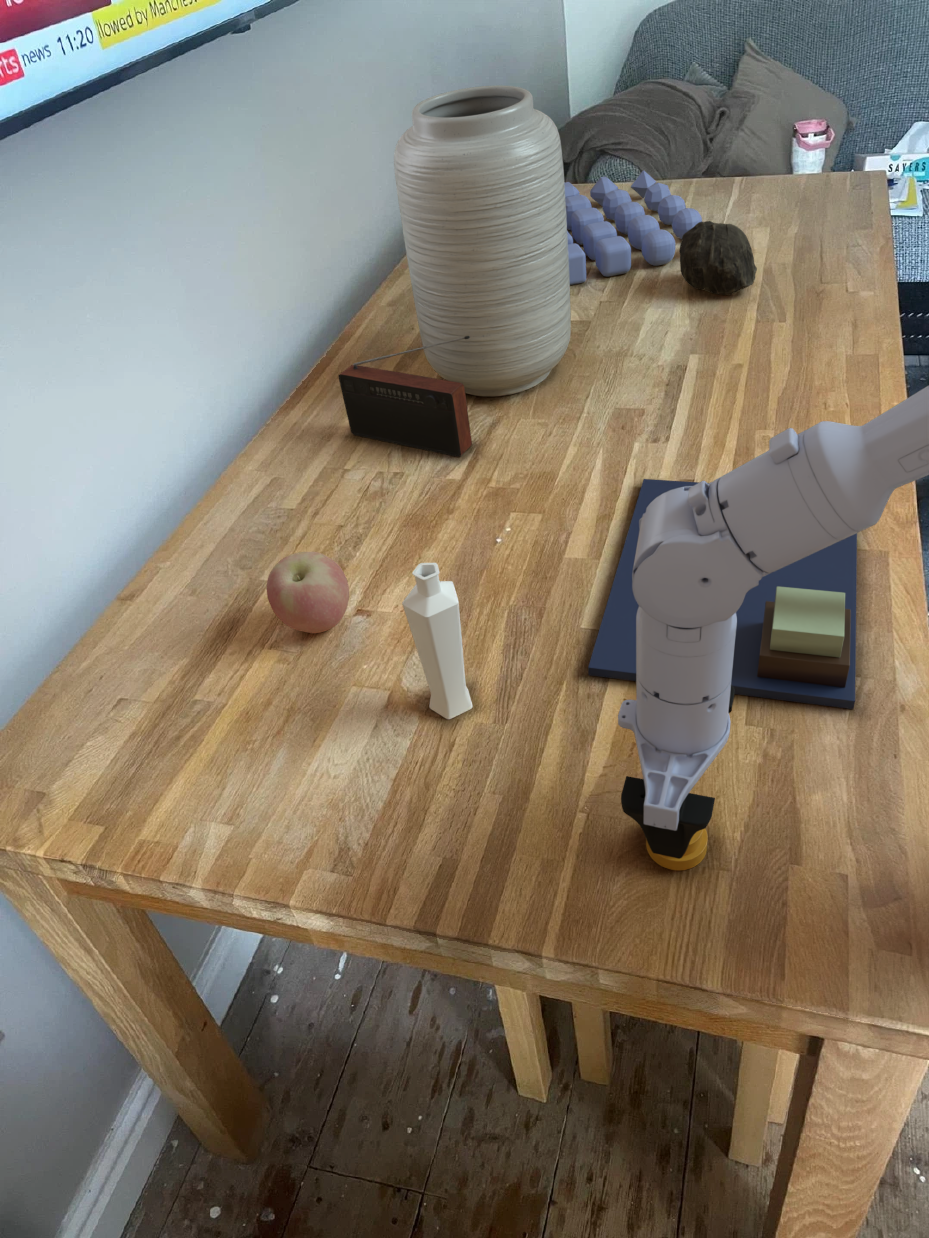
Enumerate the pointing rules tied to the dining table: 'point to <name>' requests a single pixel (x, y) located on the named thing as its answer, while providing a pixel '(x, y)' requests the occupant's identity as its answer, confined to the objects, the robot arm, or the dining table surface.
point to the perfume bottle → (438, 639)
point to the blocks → (623, 226)
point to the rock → (717, 258)
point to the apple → (308, 592)
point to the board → (813, 572)
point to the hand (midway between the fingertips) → (677, 806)
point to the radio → (406, 408)
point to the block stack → (806, 637)
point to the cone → (689, 859)
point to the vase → (486, 237)
